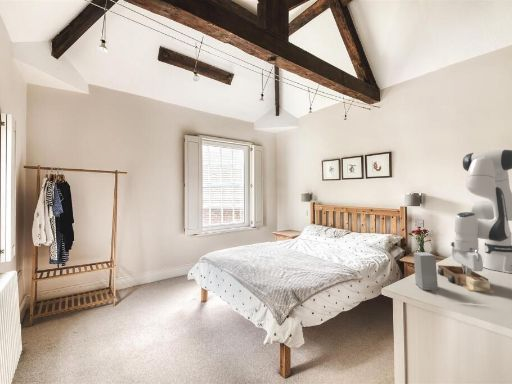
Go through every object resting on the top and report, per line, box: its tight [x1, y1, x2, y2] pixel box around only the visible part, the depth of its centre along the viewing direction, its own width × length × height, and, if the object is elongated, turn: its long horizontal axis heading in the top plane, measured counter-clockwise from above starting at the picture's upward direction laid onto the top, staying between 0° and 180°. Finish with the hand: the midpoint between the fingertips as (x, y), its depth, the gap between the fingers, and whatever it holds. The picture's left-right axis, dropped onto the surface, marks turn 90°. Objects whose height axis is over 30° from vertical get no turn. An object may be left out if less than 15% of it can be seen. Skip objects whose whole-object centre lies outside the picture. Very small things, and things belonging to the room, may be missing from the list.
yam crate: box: [466, 276, 491, 293], centre depth 115 cm, size 6×6×5 cm
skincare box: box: [413, 251, 439, 291], centre depth 120 cm, size 8×7×16 cm
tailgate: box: [461, 285, 495, 294], centre depth 116 cm, size 9×1×6 cm
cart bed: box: [437, 264, 489, 287], centre depth 129 cm, size 15×21×4 cm
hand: (466, 274), depth 125 cm, fingers closed
